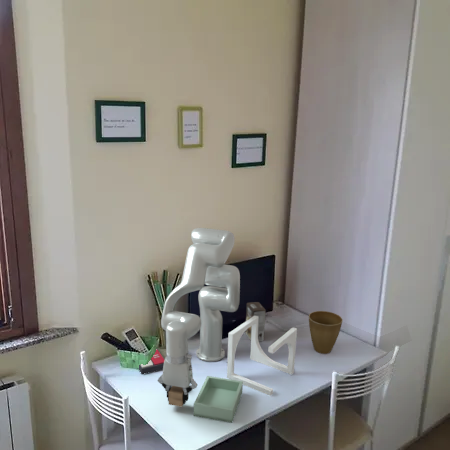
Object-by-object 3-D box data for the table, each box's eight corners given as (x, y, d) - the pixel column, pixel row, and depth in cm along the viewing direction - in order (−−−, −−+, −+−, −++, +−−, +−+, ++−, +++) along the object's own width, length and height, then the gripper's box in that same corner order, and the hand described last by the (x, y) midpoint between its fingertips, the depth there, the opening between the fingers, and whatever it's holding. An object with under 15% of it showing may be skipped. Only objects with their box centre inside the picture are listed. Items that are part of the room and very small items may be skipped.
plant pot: (342, 359, 206) (346, 325, 202) (308, 357, 206) (311, 324, 202) (335, 342, 221) (338, 310, 216) (304, 341, 221) (306, 309, 217)
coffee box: (244, 333, 226) (246, 302, 222) (257, 332, 228) (258, 301, 224) (251, 342, 218) (252, 310, 214) (264, 340, 220) (266, 309, 216)
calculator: (141, 367, 189) (130, 348, 202) (141, 376, 190) (130, 357, 203) (167, 361, 194) (155, 343, 207) (167, 370, 195) (154, 351, 208)
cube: (173, 395, 172) (173, 384, 171) (186, 398, 171) (186, 386, 170) (168, 404, 168) (168, 392, 166) (182, 406, 167) (181, 394, 165)
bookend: (293, 372, 195) (297, 328, 190) (270, 396, 179) (273, 348, 174) (252, 357, 206) (254, 315, 200) (226, 378, 190) (228, 333, 184)
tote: (207, 387, 183) (207, 375, 182) (242, 392, 180) (242, 381, 179) (193, 416, 166) (193, 403, 165) (232, 422, 163) (232, 410, 162)
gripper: (203, 353, 166) (203, 397, 171) (158, 347, 170) (159, 390, 175) (197, 365, 159) (197, 411, 164) (150, 358, 163) (151, 403, 168)
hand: (177, 399), depth 169 cm, fingers closed on cube, 4 cm apart
